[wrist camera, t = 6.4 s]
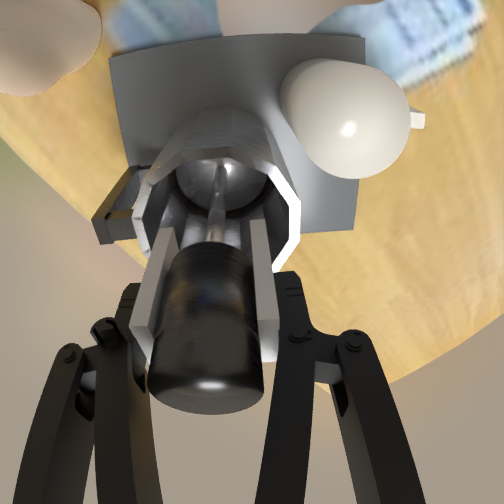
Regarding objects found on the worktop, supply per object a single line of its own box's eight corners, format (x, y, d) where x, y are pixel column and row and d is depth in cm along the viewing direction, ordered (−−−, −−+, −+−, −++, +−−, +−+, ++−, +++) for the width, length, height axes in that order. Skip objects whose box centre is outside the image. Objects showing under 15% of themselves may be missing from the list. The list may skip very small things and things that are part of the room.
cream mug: (276, 57, 22) (295, 61, 15) (387, 63, 22) (443, 76, 15) (280, 140, 27) (298, 181, 20) (383, 139, 27) (430, 178, 19)
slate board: (112, 57, 22) (108, 58, 21) (360, 38, 22) (364, 38, 21) (152, 240, 34) (150, 245, 33) (350, 224, 34) (353, 229, 33)
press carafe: (128, 119, 25) (66, 171, 15) (274, 102, 24) (300, 141, 15) (148, 211, 30) (114, 296, 21) (277, 199, 30) (298, 284, 21)
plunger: (171, 131, 23) (59, 325, 8) (264, 121, 23) (327, 313, 8) (185, 210, 28) (141, 426, 12) (268, 203, 28) (305, 422, 12)
